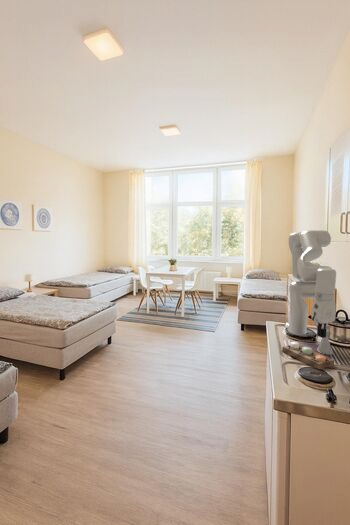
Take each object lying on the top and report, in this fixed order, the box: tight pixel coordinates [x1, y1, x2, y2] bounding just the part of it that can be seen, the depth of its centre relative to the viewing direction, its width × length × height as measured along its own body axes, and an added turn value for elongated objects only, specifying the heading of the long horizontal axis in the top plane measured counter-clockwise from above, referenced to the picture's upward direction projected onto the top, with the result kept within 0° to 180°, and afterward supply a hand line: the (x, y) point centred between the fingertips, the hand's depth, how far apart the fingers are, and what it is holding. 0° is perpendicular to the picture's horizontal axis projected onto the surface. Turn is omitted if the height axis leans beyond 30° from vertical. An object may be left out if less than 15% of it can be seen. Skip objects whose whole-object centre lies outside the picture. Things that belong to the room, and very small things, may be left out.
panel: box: [281, 344, 335, 370], centre depth 125 cm, size 20×10×3 cm, turn 25°
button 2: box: [302, 346, 313, 356], centre depth 125 cm, size 4×4×3 cm
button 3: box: [315, 355, 326, 362], centre depth 118 cm, size 4×4×3 cm
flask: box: [317, 331, 333, 356], centre depth 131 cm, size 7×7×10 cm
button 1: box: [289, 341, 300, 350], centre depth 131 cm, size 4×4×3 cm
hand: (321, 336), depth 118 cm, fingers closed
